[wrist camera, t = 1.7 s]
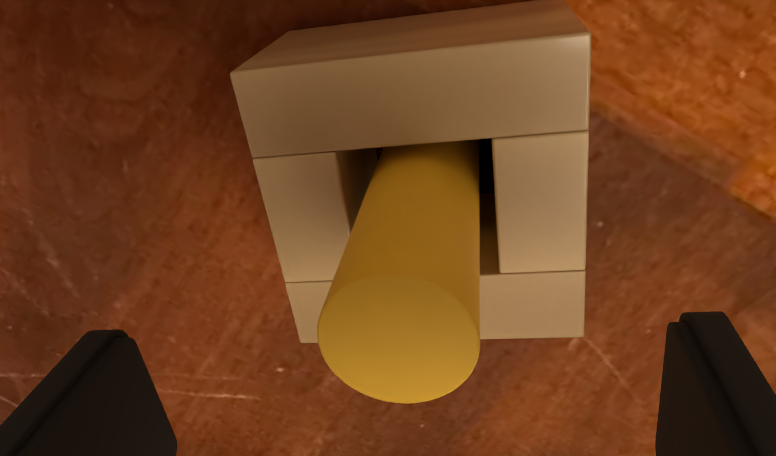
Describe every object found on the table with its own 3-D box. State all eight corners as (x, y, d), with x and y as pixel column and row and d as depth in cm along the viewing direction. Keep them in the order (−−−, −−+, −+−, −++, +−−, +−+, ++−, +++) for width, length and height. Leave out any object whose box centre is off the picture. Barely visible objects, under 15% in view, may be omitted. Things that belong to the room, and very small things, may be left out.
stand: (287, 30, 18) (228, 72, 14) (562, -4, 17) (592, 31, 12) (335, 256, 22) (300, 343, 18) (561, 244, 20) (584, 337, 16)
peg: (381, 104, 19) (300, 279, 10) (476, 95, 18) (473, 271, 10) (394, 188, 20) (332, 404, 12) (481, 182, 20) (485, 404, 11)
